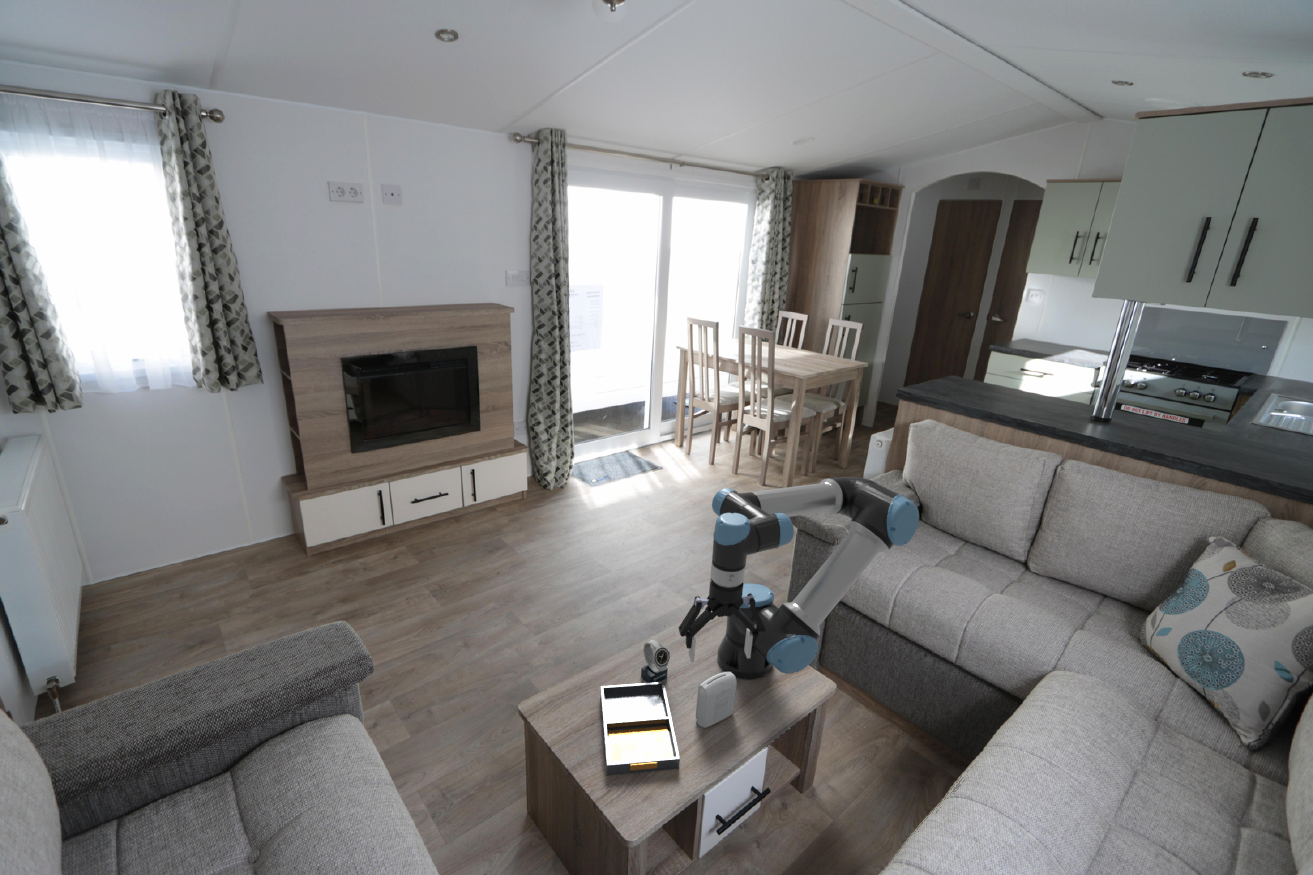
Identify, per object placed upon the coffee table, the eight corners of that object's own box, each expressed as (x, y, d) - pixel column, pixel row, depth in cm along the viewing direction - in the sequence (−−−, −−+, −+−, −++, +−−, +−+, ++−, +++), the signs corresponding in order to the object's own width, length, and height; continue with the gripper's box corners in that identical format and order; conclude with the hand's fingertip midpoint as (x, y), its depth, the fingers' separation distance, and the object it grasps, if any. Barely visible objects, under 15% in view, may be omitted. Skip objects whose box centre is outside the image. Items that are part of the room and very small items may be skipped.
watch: (655, 690, 159) (656, 656, 155) (637, 672, 165) (638, 639, 161) (671, 682, 162) (673, 648, 158) (653, 664, 168) (655, 631, 164)
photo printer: (725, 703, 156) (728, 664, 152) (735, 714, 152) (740, 674, 148) (692, 719, 150) (695, 679, 146) (703, 731, 147) (706, 690, 143)
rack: (663, 690, 159) (663, 681, 158) (679, 769, 137) (680, 759, 136) (600, 695, 157) (600, 686, 156) (607, 776, 134) (607, 766, 133)
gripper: (675, 591, 132) (670, 670, 140) (785, 586, 136) (774, 663, 143) (669, 572, 139) (665, 648, 147) (774, 568, 143) (765, 642, 150)
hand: (719, 656), depth 145 cm, fingers open, 13 cm apart
